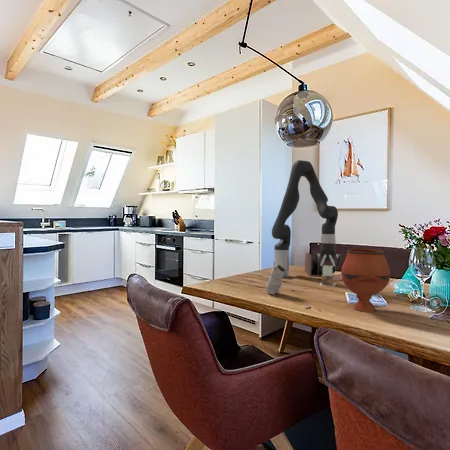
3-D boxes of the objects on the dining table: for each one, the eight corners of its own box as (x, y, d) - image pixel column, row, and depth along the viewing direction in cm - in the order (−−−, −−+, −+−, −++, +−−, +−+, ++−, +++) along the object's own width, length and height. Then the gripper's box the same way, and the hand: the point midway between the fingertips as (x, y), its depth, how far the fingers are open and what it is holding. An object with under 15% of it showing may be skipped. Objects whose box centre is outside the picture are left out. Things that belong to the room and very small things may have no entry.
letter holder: (310, 277, 212) (310, 255, 212) (304, 271, 232) (304, 251, 232) (326, 277, 212) (326, 255, 211) (318, 271, 232) (319, 251, 231)
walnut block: (321, 284, 182) (321, 275, 182) (322, 282, 187) (322, 273, 187) (333, 285, 180) (333, 276, 179) (333, 283, 185) (333, 274, 185)
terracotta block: (331, 282, 194) (331, 274, 194) (329, 281, 199) (329, 272, 199) (340, 282, 194) (340, 274, 193) (338, 281, 199) (338, 272, 198)
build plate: (301, 287, 180) (301, 285, 180) (305, 282, 195) (305, 280, 195) (340, 291, 173) (340, 288, 173) (341, 284, 187) (341, 282, 187)
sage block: (322, 275, 182) (322, 266, 182) (323, 274, 187) (323, 265, 186) (332, 276, 180) (332, 267, 180) (332, 274, 185) (332, 265, 185)
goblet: (365, 318, 127) (366, 253, 126) (330, 305, 145) (331, 248, 144) (400, 312, 135) (401, 251, 134) (363, 301, 152) (364, 247, 152)
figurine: (273, 297, 160) (274, 266, 159) (262, 292, 169) (262, 263, 168) (288, 295, 164) (288, 264, 163) (276, 291, 173) (276, 262, 172)
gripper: (313, 242, 182) (313, 273, 183) (341, 243, 177) (341, 274, 177) (315, 241, 189) (315, 270, 189) (342, 242, 184) (341, 272, 184)
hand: (327, 272), depth 183 cm, fingers open, 5 cm apart
